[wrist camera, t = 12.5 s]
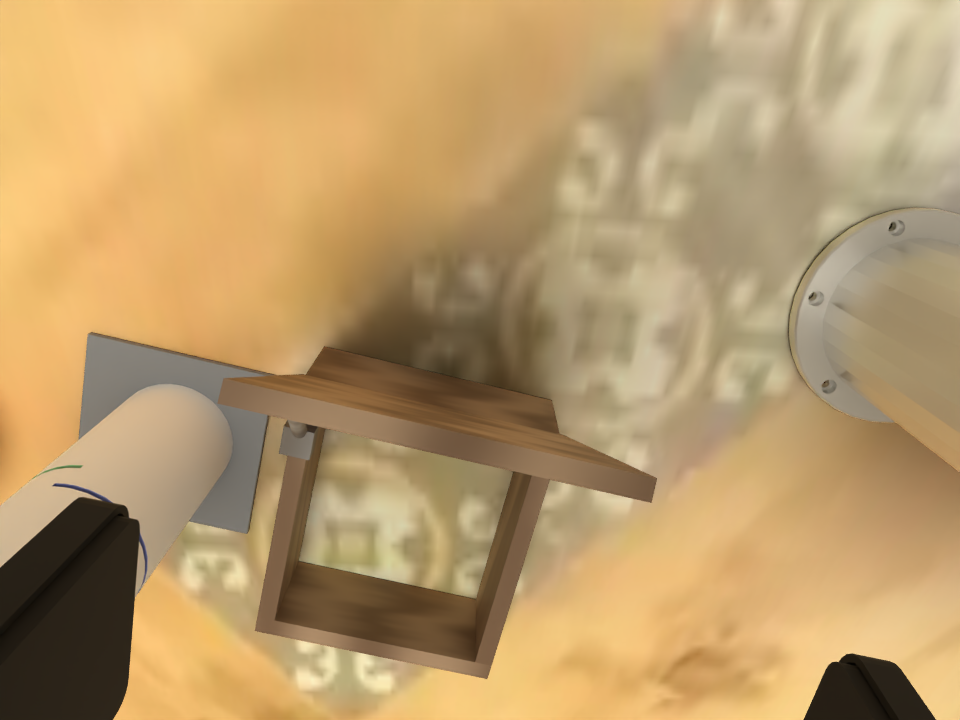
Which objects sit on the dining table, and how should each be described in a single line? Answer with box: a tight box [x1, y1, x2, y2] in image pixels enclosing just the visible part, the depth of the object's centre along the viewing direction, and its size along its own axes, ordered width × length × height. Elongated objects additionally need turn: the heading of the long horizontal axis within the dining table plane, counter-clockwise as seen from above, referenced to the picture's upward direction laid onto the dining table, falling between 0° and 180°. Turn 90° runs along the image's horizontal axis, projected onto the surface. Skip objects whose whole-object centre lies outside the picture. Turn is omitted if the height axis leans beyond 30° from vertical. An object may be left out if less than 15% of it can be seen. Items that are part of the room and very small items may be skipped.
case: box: [217, 347, 657, 679], centre depth 37 cm, size 14×22×21 cm, turn 166°
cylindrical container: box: [0, 384, 233, 597], centre depth 35 cm, size 7×7×25 cm
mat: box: [79, 332, 276, 534], centre depth 47 cm, size 11×11×1 cm
